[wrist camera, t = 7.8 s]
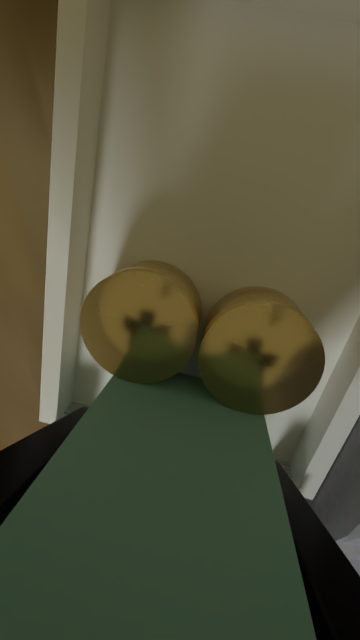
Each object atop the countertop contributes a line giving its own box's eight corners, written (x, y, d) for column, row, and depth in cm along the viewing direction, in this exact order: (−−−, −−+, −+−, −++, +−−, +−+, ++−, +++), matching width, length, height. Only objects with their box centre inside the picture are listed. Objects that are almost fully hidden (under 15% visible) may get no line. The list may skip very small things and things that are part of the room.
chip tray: (301, 464, 10) (312, 500, 9) (61, 396, 11) (39, 420, 10) (522, 24, 6) (604, -28, 5) (96, -53, 7) (63, -119, 5)
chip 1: (199, 357, 9) (193, 389, 8) (109, 349, 10) (84, 377, 8) (205, 263, 8) (199, 275, 7) (104, 257, 9) (74, 268, 7)
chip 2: (287, 387, 9) (301, 426, 8) (194, 366, 9) (188, 399, 8) (320, 298, 8) (345, 320, 6) (214, 276, 8) (211, 292, 7)
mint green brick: (259, 393, 9) (374, 894, 2) (222, 496, 10) (225, 1004, 3) (126, 358, 9) (-138, 710, 2) (107, 462, 10) (-97, 876, 4)
